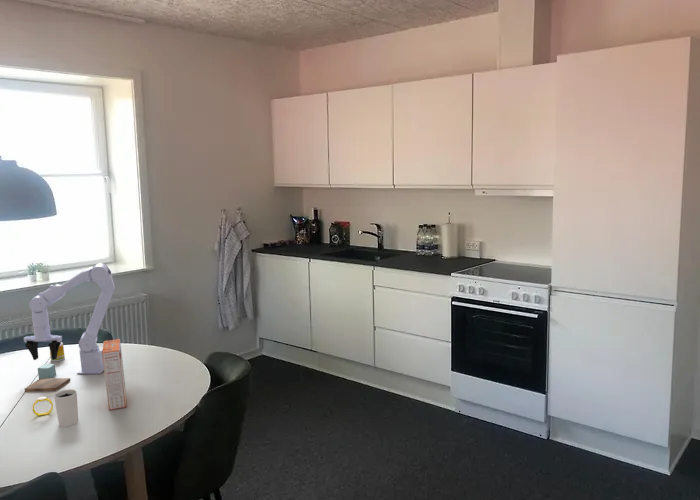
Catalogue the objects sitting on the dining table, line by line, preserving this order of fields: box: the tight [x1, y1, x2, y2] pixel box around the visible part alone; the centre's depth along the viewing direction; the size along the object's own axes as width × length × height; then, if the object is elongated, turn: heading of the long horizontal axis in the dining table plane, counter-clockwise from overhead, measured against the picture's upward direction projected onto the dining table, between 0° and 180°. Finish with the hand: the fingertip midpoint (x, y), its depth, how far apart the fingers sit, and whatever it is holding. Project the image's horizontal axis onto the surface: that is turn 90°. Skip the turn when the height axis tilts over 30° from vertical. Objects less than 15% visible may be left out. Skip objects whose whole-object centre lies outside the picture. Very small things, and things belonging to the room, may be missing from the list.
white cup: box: [53, 388, 79, 427], centre depth 190 cm, size 7×7×10 cm
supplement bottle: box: [48, 341, 66, 362], centre depth 252 cm, size 5×5×10 cm
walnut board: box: [24, 377, 71, 393], centre depth 222 cm, size 12×10×1 cm
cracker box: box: [102, 338, 127, 411], centre depth 204 cm, size 14×6×21 cm, turn 21°
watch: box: [32, 396, 54, 417], centre depth 197 cm, size 6×3×6 cm, turn 115°
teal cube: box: [37, 363, 57, 379], centre depth 232 cm, size 4×4×4 cm
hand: (45, 359), depth 231 cm, fingers open, 7 cm apart
